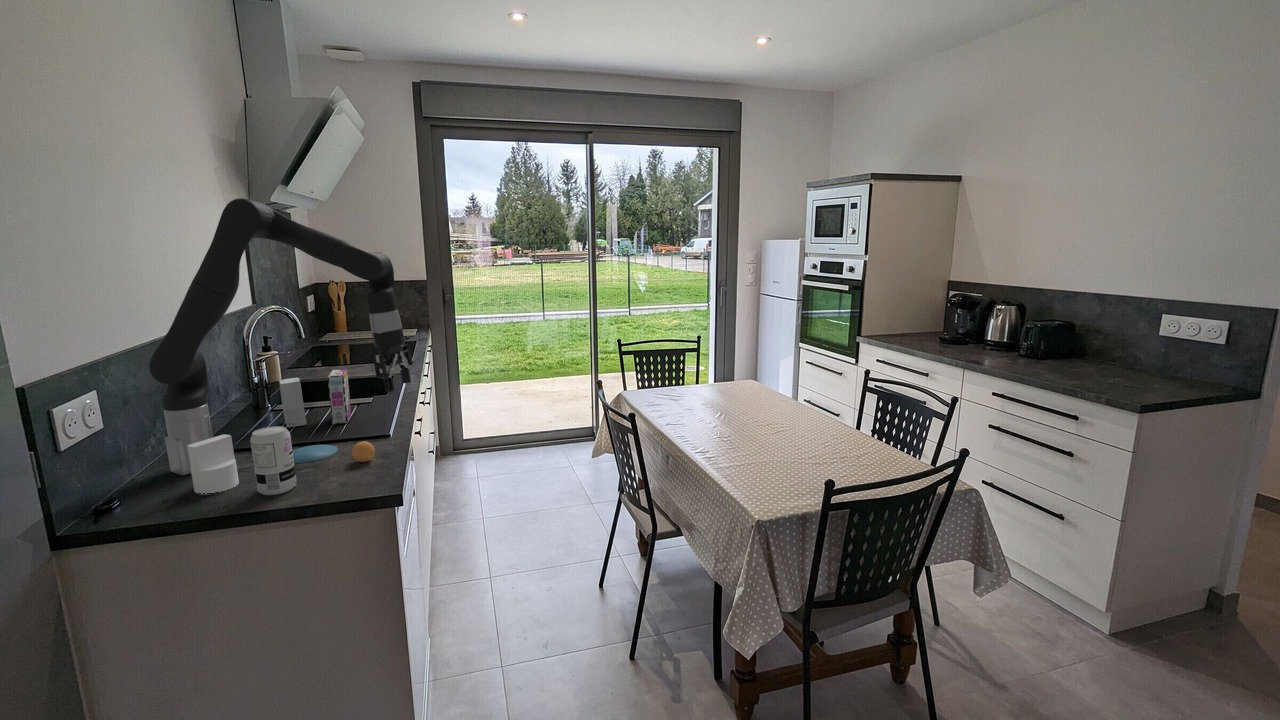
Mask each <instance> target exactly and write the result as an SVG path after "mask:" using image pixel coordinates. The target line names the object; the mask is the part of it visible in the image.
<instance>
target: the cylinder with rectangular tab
mask: <svg viewBox="0 0 1280 720" xmlns="http://www.w3.org/2000/svg"><path fill="white" fill-rule="evenodd" d="M232 438H233V437H232V435H230V434H220V435H218V436H213V438H210V439H207V440H203V441H200V442H197V443H194V444H190V445H187V447H188V453H189V459H190V465H191V479H192V485H193V491H194V493H195V492H196V493H195V494H197V493H201V494H200V495H208V494H207V493H214V494H216V493H215V492H219V493H222V491H223V492H226V491H229V490H231V489H234V488H236V487H237V486H238V485H239V483H240V480H239V474H238V467H237V461H236V457H235V451H234V446H233V440H232ZM233 487H234V488H233ZM228 489H229V490H228ZM203 493H205V494H203Z"/></svg>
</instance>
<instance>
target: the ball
mask: <svg viewBox="0 0 1280 720" xmlns="http://www.w3.org/2000/svg"><path fill="white" fill-rule="evenodd" d="M375 452H376V450H375V446H374V445H373V444H372V443H371V442H369V441H365V440H363V441H359V442H357V443H356V444H355V445H354V446H353V448H352V451H351V454H352V457H353V459H354V460H355V461H357V462H359V463H365V462H369V461H371V460H372V459H373V457H374V456H375V454H376V453H375Z"/></svg>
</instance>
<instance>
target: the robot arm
mask: <svg viewBox="0 0 1280 720" xmlns="http://www.w3.org/2000/svg"><path fill="white" fill-rule="evenodd" d="M218 220H219V221H218V223H217V226H216V229H215V233H214V235H213V238H212V241H211V244H210V246H209V247H208V250H207V251H206V254H205V256H204V257H203V260H202V261H201V263H200V266H199V268H198V269H197V272H196V274H195V275H194V277H193V279H192V281H191V283H190V285H189V287H188V289H187V291H186V293H185V295H184V299H183V300H182V301H181V305H180V306H179V308H178V310H177V313H176V315H175V316H174V319H173V321H172V324H171V326H170V327H169V329H168V331H167V332H166V335H165V336H164V337H163V338H162V339H161V342H160V343H159V344H158V345H157V348H156V349H155V350H154V352H153V354H152V355H151V356H150V357H151V358H150V359H149V363H148V369H149V373H150V375H151V377H152V378H153V379H154V380H155V381H156V382H158V383H161V384H164V385H167V389H166V392H165V394H164V395H163V397H162V399H161V402H162V408H163V413H164V415H163V416H164V420H165V426H166V432H167V436H165V437H164V441H165V447H166V452H167V459H168V464H169V469H170V472H172V473H174V474H177V475H180V476H185V475H190V474H191V465H190V459H189V453H188V447H187V445H190V444H194V443H197V442H200V441H203V440H207V439H210V438H213V437H214V435H213V429H212V423H211V416H210V410H209V405H208V393H209V380H208V371H207V364H206V359H205V356H204V354H203V353H202V351H201V350H200V348H199V347H200V345H201V343H202V342H203V341H204V339H205V337H206V336H207V335H208V333H210V331H211V330H212V329H213V328H214V327H215V326H216V325H217V324H218V323H219V321H220V320H221V319H222V318H223V317H224V316H225V314H226V313H227V311H228V309H229V307H230V306H231V304H232V303H233V300H234V298H235V296H236V294H237V292H238V289H239V286H240V267H241V265H240V264H241V261H242V257H243V254H244V253H245V251H246V249H247V247H248V246H249V243H250V241H252V239H255V238H256V239H260V238H261V239H265V240H270V241H271V240H272V241H275V242H279V243H283V244H285V245H288V246H290V247H293V248H295V249H297V250H299V251H301V252H303V253H305V254H307V255H309V256H310V257H313V258H314V259H317V260H319V261H322V262H323V263H326V264H330V265H332V266H335V267H338V268H341V269H343V270H344V271H346V272H347V273H349V274H351V275H353V276H354V277H357V278H359V279H362V280H365V281H368V291H367V292H366V294H365V295H366V296H365V297H366V298H365V299H366V305H367V310H368V314H369V323H370V329H371V334H372V335H371V336H372V338H373V344H374V347H375V349H379V351H380V353H379V354H376V355H375V354H374V355H372V360H373V365H374V372H375V376H376V378H377V379H382V382H383V385H384V386H383V387H384V390H385V392H386V393H393V392H395V390H396V389H395V386H394V384H395V383H394V379H393V371H394V370H395V369H396V367H398V369H400V370H399V372H400V377H401V382H402V383H403V384H410V383H411V382H412V379H411V375H410V368H411V366H413V363H414V362H413V358H412V354H411V349H410V346H409V344H405V343H406V341H405V334H404V330H403V329H404V328H403V325H402V324H403V323H402V321H401V317H400V313H399V310H398V306H397V305H398V304H397V300H396V295H395V271H394V265H393V263H392V261H391V259H390V258H389V256H387V254H386V253H383V252H378V251H376V252H375V251H374V252H368V251H365V250H363V249H361V248H357V247H355V245H354V244H353V243H351V242H349V241H347V240H344V239H342V238H339V237H336V236H334V235H332V234H330V233H328V232H324V231H321V230H318V229H315V228H312V227H309V226H307V225H304V224H302V223H299V222H297V221H296V220H293V219H290V218H289V217H287V216H285V215H284V214H282V213H281V212H278V211H276V210H275V209H273V208H271V207H269V206H268V205H266V204H265V203H263V202H260V201H257V200H253V199H249V198H244V197H240V198H235V199H233V200H230V201H229V202H228V203H227V204H226V205H225V207H223V210H222V212H221V214H220V218H219V219H218ZM191 475H192V474H191Z"/></svg>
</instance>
